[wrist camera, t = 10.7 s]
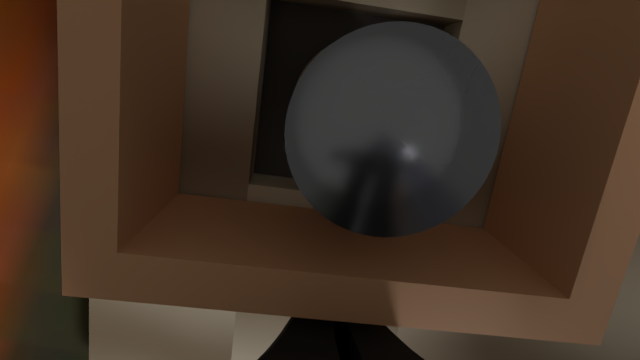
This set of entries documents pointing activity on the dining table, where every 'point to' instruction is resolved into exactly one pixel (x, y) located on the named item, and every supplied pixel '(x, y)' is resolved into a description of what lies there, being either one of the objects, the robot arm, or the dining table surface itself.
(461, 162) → the peg
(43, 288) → the dining table surface
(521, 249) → the light brown open box
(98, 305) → the board
